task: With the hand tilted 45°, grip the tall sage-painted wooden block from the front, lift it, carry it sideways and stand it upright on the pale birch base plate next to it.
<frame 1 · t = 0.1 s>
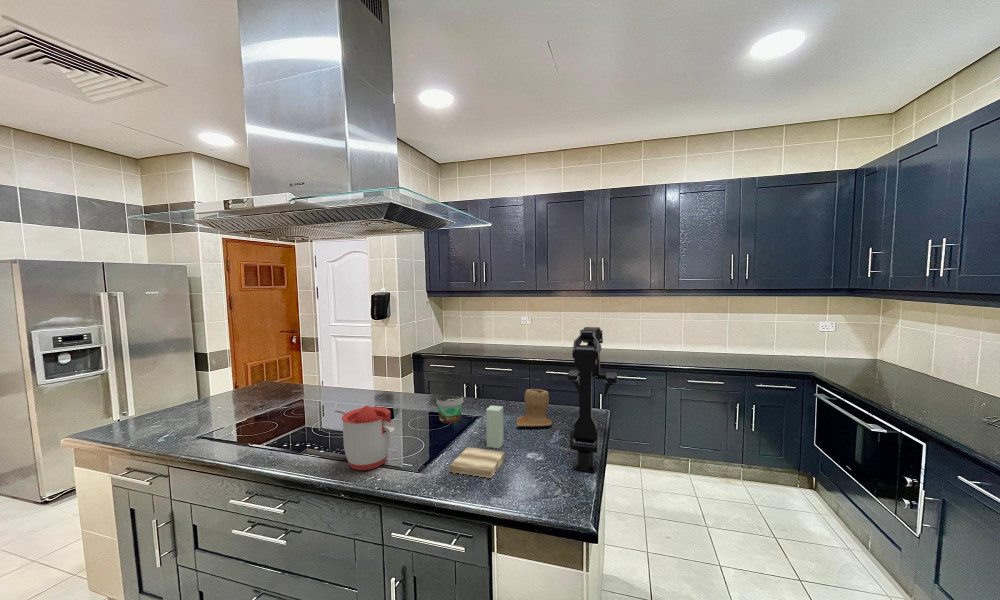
hand: (592, 397, 151), 15 cm above the worktop, tool pointing down, fingers open, 9 cm apart
sage block: (495, 444, 143), on the worktop
food container: (452, 422, 168), on the worktop
citrus juicer: (370, 463, 130), on the worktop
stone cup: (533, 424, 163), on the worktop
birch base: (478, 465, 127), on the worktop
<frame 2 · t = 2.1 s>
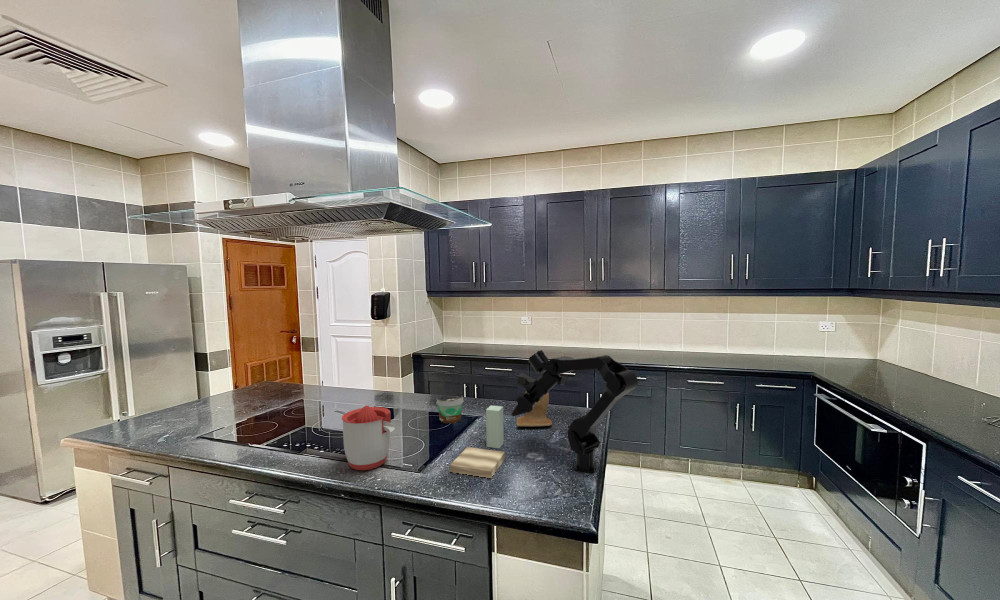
hand: (516, 411, 140), 13 cm above the worktop, tool tilted 45°, fingers open, 9 cm apart
nothing on the worktop moved.
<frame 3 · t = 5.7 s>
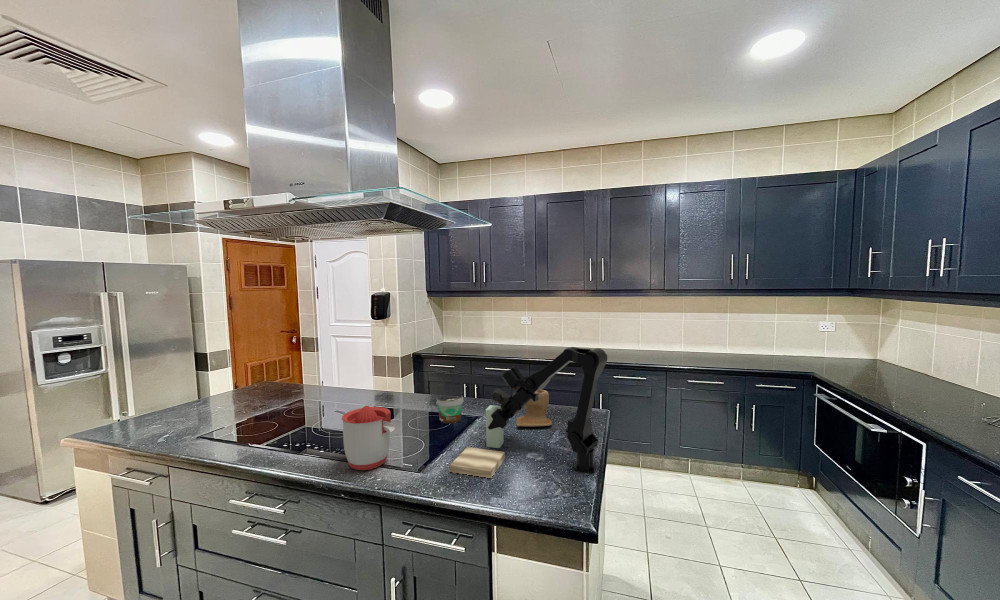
hand: (491, 425, 143), 7 cm above the worktop, tool tilted 45°, fingers closed on sage block, 5 cm apart
sage block: (495, 444, 143), on the worktop, touching gripper
everything else where it was.
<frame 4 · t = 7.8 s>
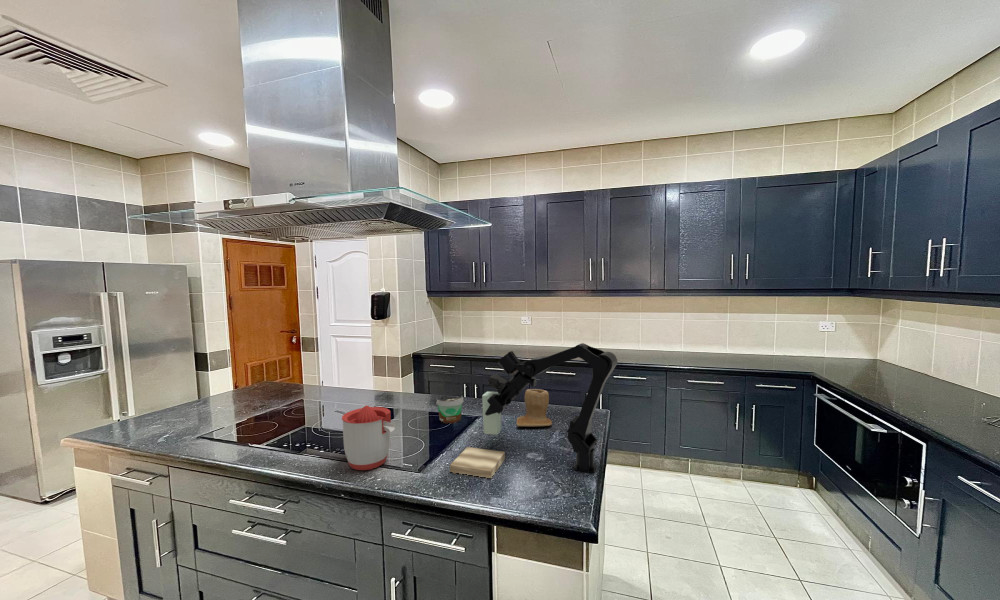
hand: (488, 412, 140), 13 cm above the worktop, tool tilted 45°, fingers closed on sage block, 5 cm apart
sage block: (492, 431, 140), point 6 cm above the worktop, touching gripper
everything else where it was.
when the fingers open (11 cm above the worktop, at t = 9.9 s): sage block drops 1 cm, resting on birch base.
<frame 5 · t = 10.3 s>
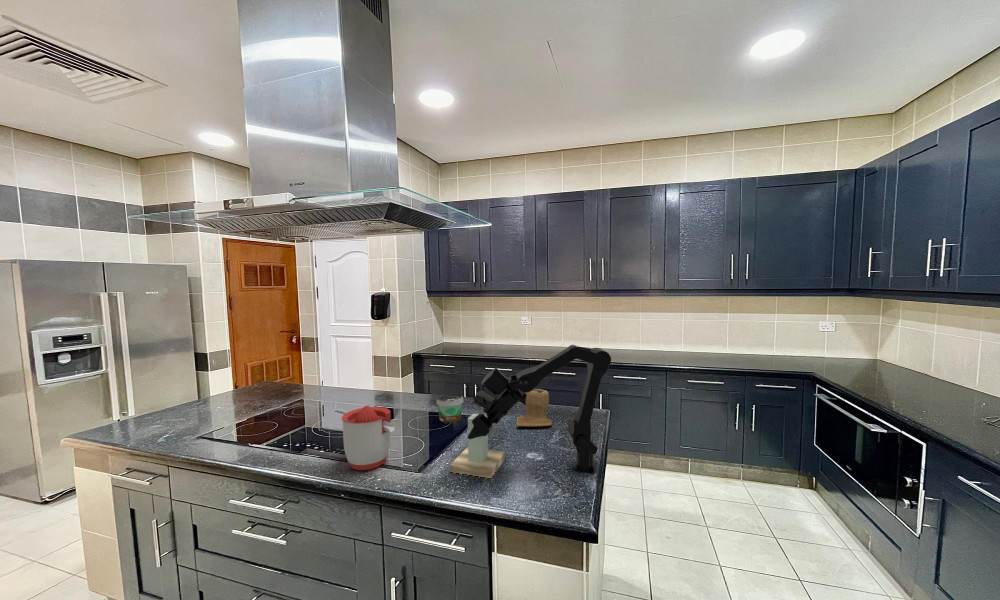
hand: (473, 432, 127), 11 cm above the worktop, tool tilted 45°, fingers open, 9 cm apart
sage block: (478, 458, 127), point 3 cm above the worktop, touching birch base
everything else where it was.
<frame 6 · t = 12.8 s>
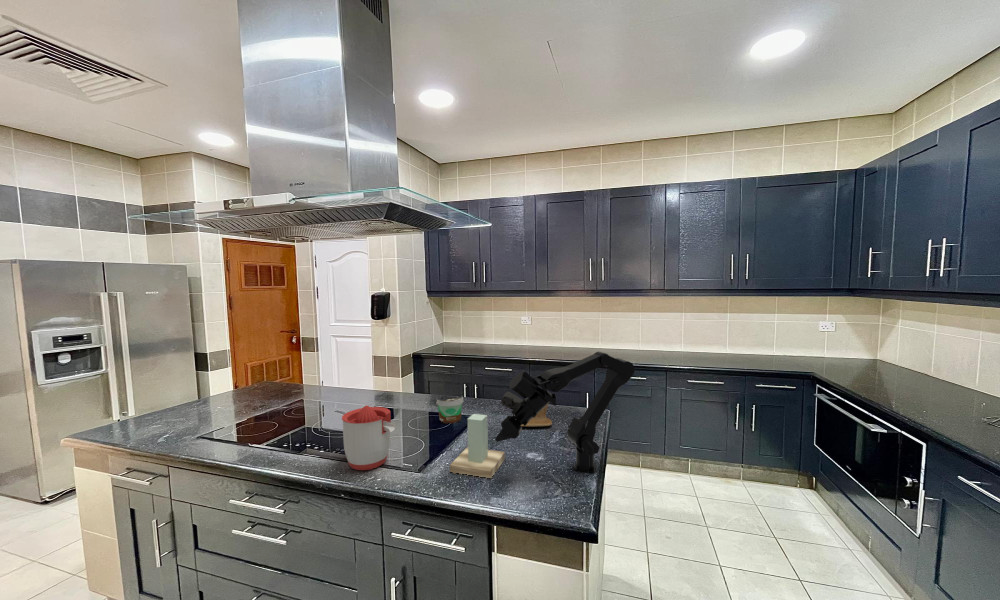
hand: (500, 434, 124), 11 cm above the worktop, tool tilted 45°, fingers open, 9 cm apart
nothing on the worktop moved.
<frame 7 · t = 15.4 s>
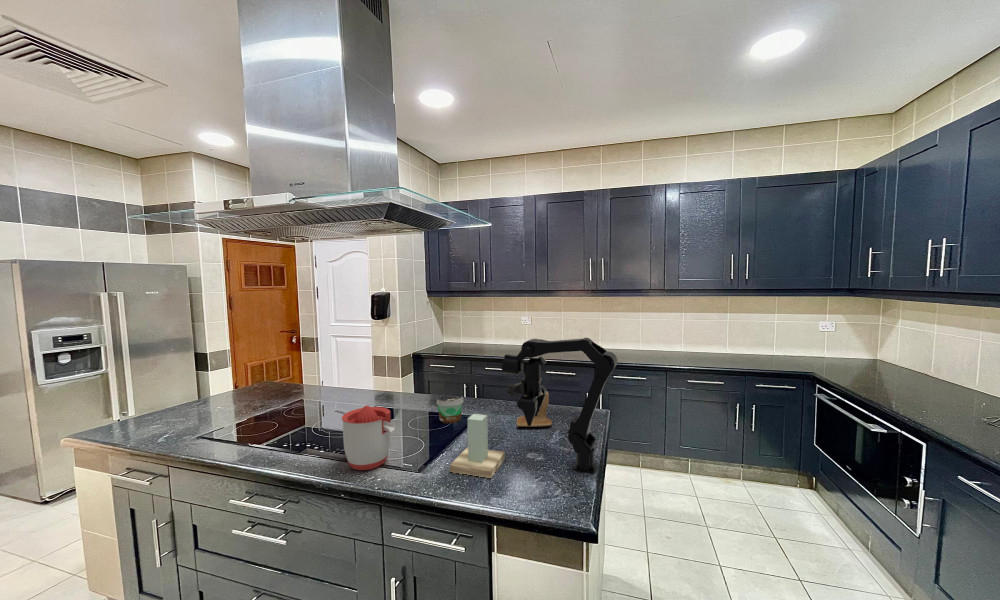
hand: (532, 420, 132), 13 cm above the worktop, tool pointing down, fingers open, 9 cm apart
nothing on the worktop moved.
at the end: sage block inside the target area on the birch base (0.1 cm from its centre), point 2.5 cm above the birch base's base; sage block tilted 0°; the gripper is holding nothing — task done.
